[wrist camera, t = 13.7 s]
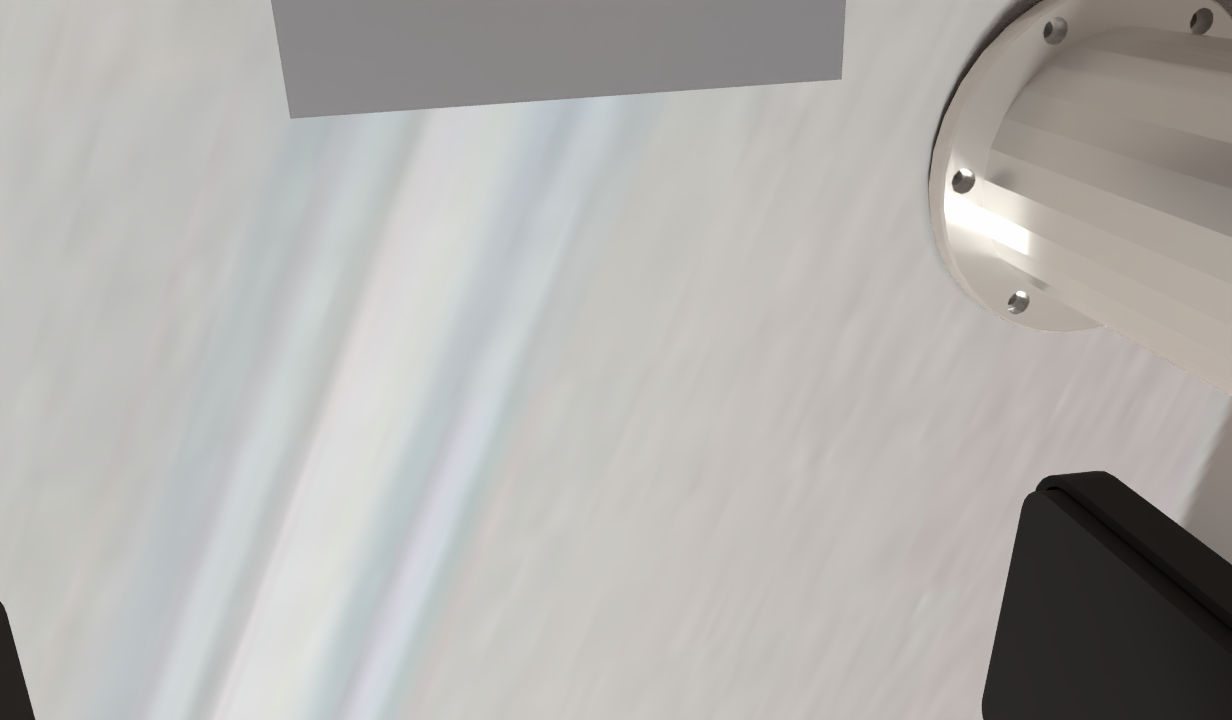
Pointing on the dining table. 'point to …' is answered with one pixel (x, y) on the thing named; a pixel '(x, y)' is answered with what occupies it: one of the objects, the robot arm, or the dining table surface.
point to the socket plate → (543, 49)
